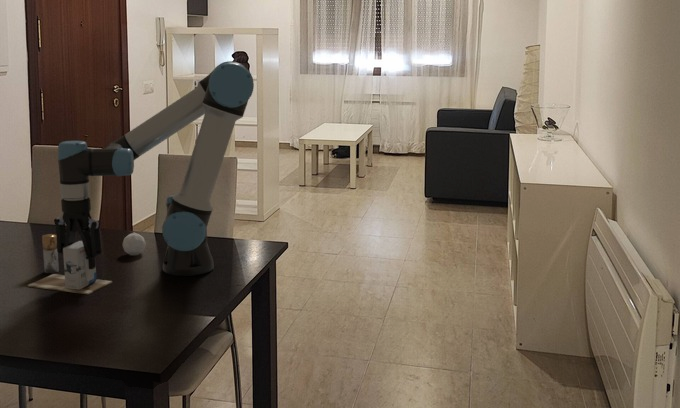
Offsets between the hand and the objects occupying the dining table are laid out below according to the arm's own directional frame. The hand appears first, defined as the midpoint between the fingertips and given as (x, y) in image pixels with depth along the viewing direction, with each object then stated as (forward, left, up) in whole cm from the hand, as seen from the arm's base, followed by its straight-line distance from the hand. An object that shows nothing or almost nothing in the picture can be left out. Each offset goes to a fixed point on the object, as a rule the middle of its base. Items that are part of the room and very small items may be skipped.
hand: (80, 278), depth 207 cm
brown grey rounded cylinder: (+17, -9, -2) cm, 19 cm away
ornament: (+4, -33, -3) cm, 33 cm away
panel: (+4, 0, -2) cm, 5 cm away
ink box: (0, 0, -2) cm, 2 cm away
